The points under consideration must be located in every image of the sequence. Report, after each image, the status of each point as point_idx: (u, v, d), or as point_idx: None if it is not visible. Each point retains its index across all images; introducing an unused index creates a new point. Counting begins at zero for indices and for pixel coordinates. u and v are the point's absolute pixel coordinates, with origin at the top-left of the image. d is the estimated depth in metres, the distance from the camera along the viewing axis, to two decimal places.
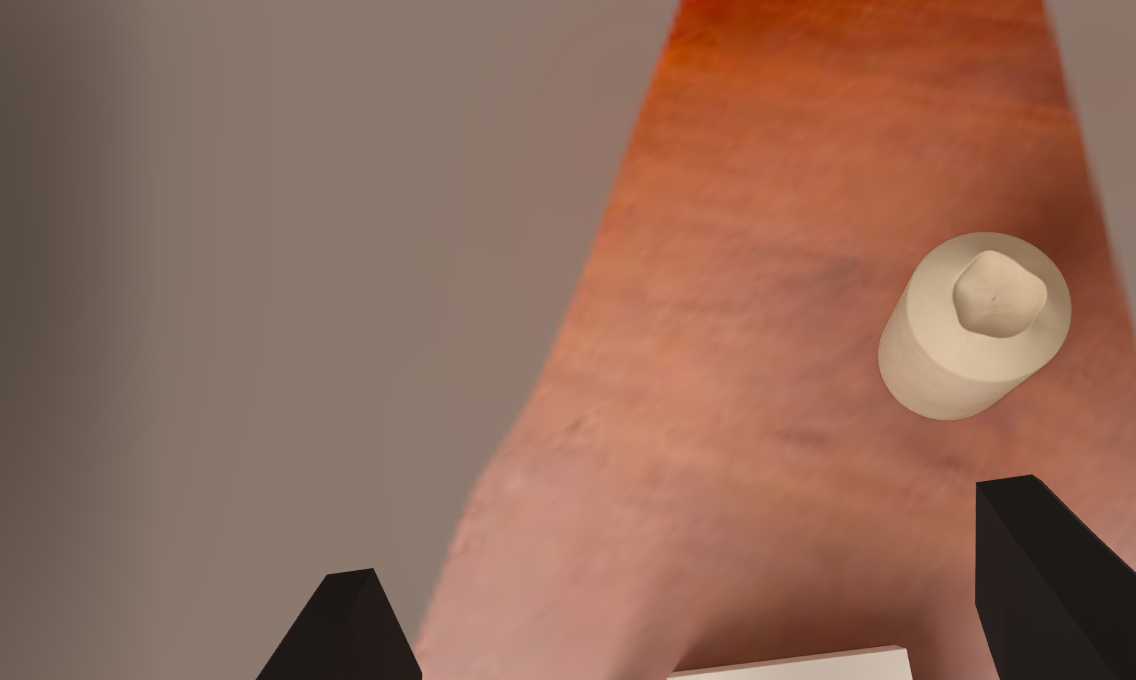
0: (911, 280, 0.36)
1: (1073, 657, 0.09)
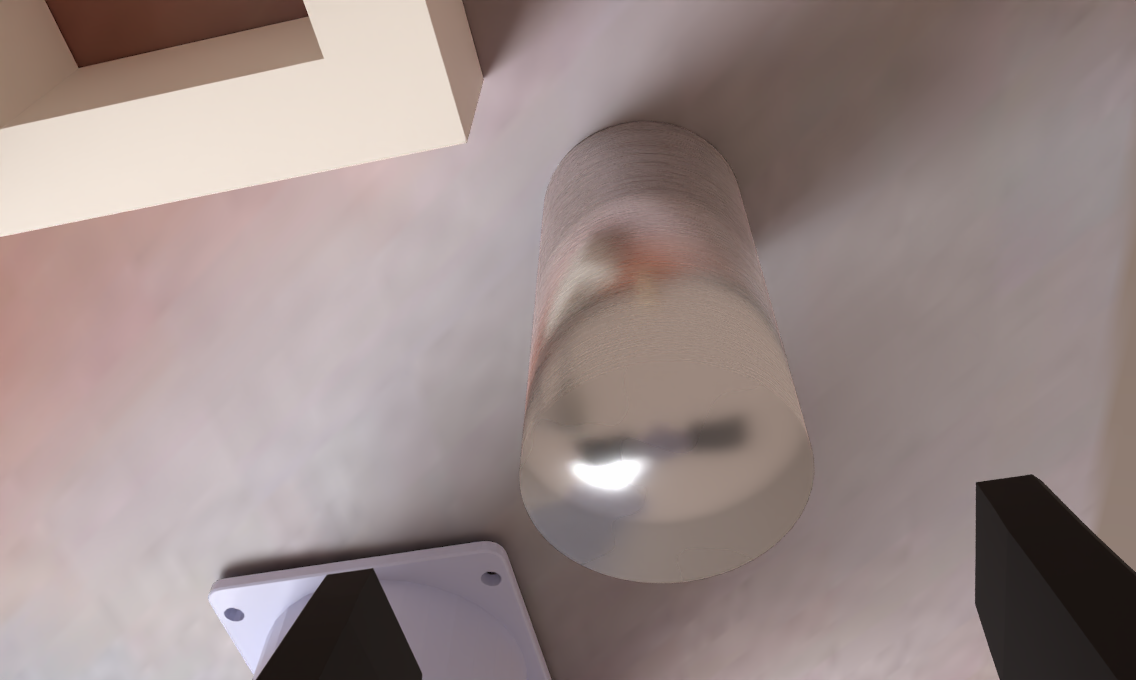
0: None
1: (1074, 657, 0.09)
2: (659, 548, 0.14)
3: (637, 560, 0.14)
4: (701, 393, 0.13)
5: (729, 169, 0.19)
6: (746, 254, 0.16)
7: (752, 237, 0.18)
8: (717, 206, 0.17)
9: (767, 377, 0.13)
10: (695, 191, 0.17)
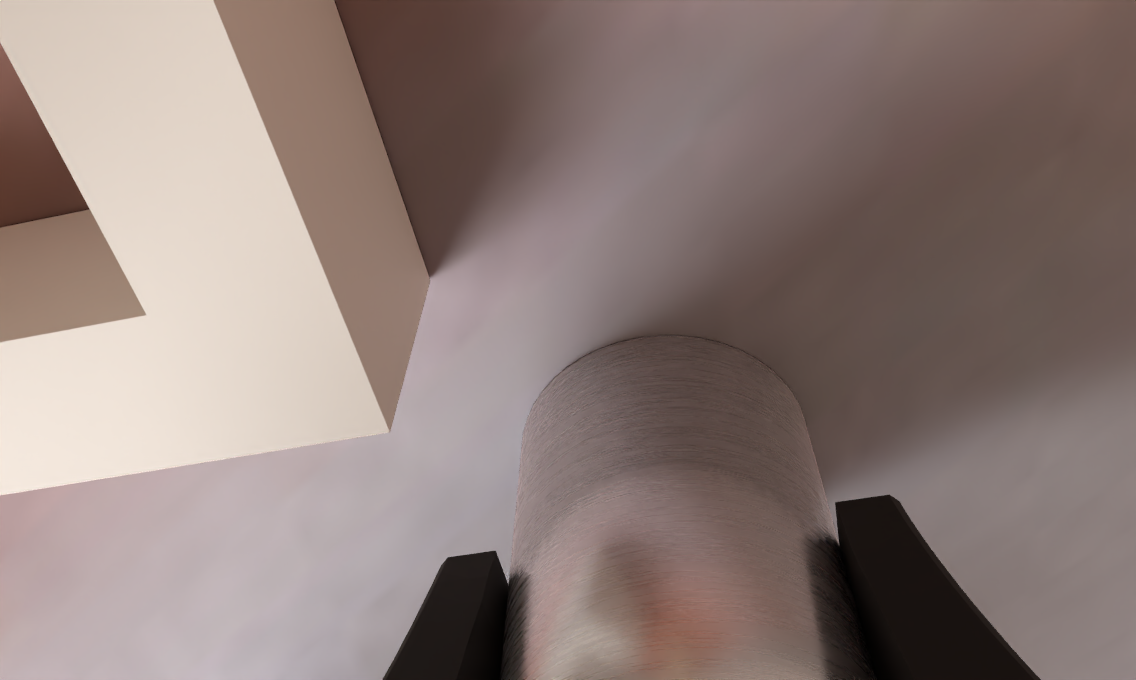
0: None
1: (900, 677, 0.09)
2: None
3: None
4: None
5: (793, 403, 0.13)
6: (841, 618, 0.10)
7: (836, 537, 0.12)
8: (788, 516, 0.11)
9: None
10: (755, 489, 0.11)
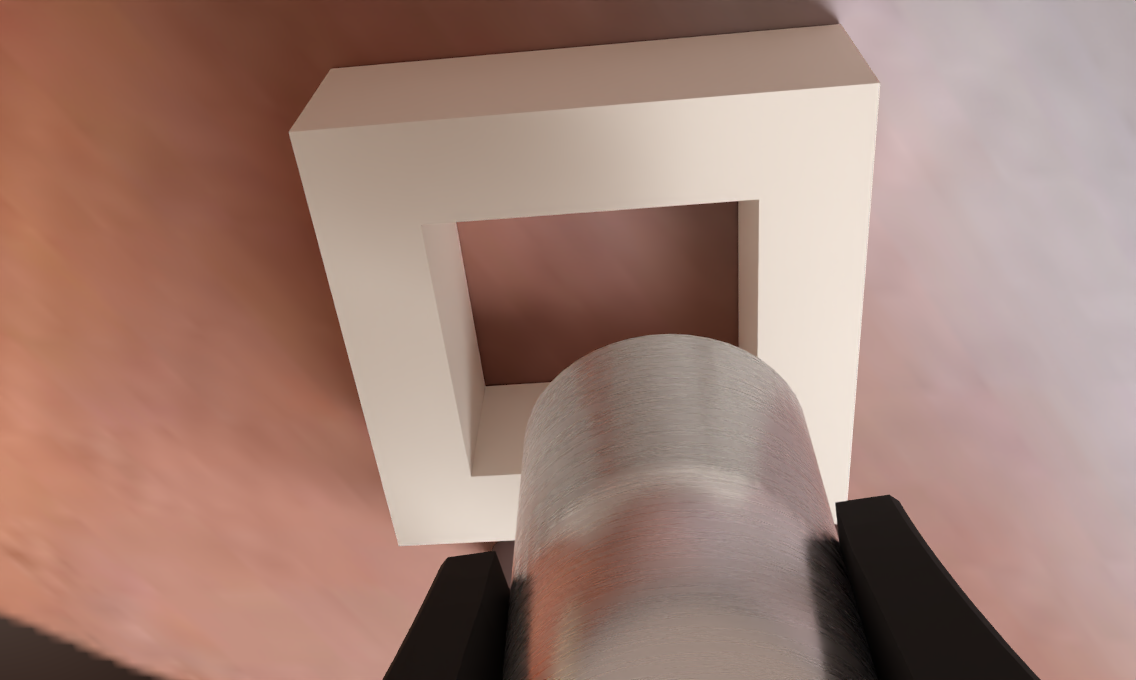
0: None
1: (899, 677, 0.09)
2: None
3: None
4: None
5: (789, 394, 0.13)
6: (834, 606, 0.10)
7: (834, 526, 0.12)
8: (779, 508, 0.11)
9: None
10: (745, 483, 0.11)
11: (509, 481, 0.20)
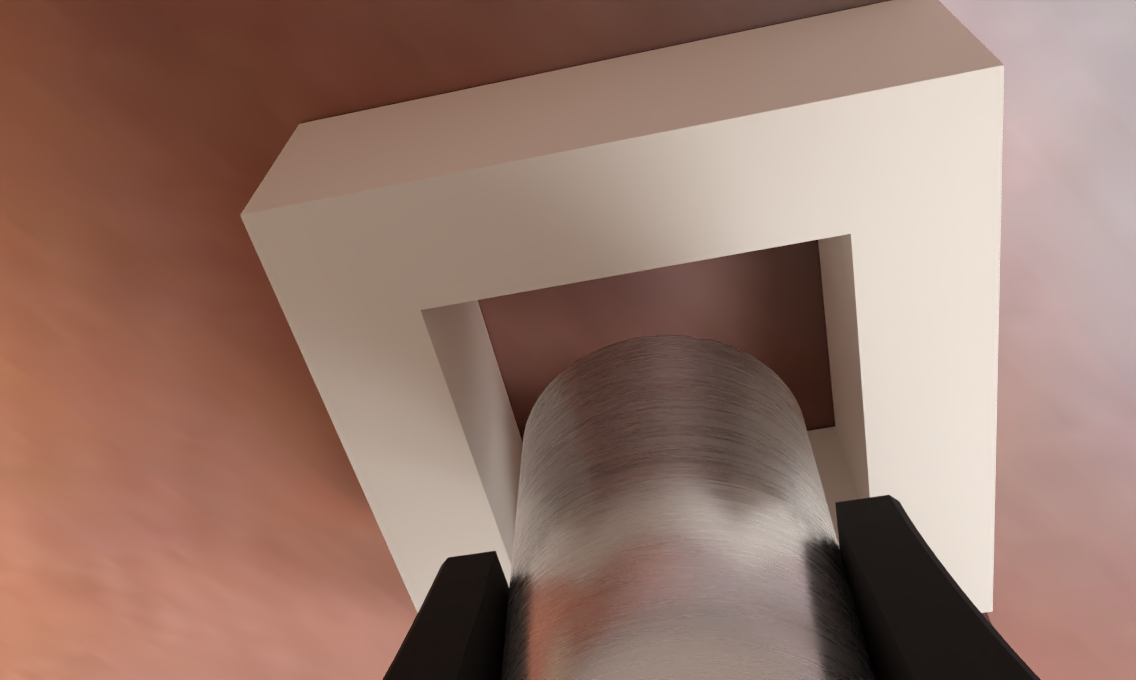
0: None
1: (900, 677, 0.09)
2: None
3: None
4: None
5: (788, 396, 0.13)
6: (832, 608, 0.10)
7: (832, 527, 0.12)
8: (778, 510, 0.11)
9: None
10: (743, 485, 0.11)
11: None
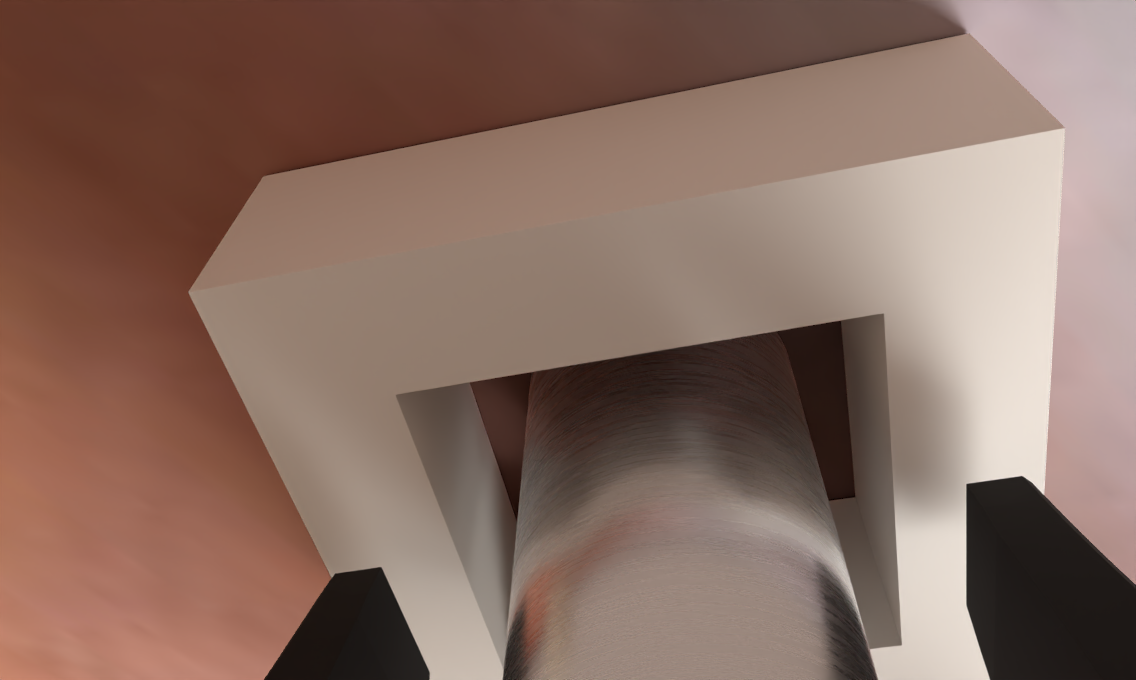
0: None
1: (1061, 658, 0.09)
2: None
3: None
4: None
5: (774, 335, 0.14)
6: (809, 508, 0.11)
7: (813, 448, 0.13)
8: (762, 426, 0.12)
9: None
10: (731, 404, 0.12)
11: None
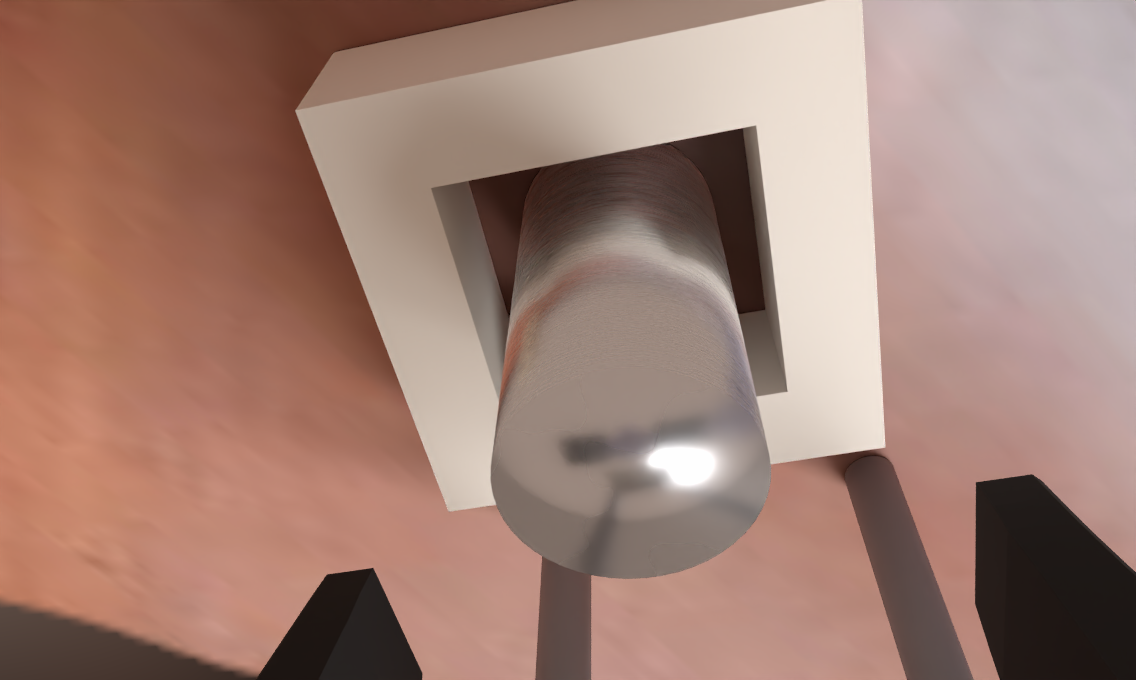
0: None
1: (1073, 657, 0.09)
2: (631, 545, 0.15)
3: (611, 557, 0.15)
4: (655, 397, 0.13)
5: (698, 174, 0.20)
6: (708, 258, 0.17)
7: (719, 240, 0.18)
8: (680, 213, 0.17)
9: (717, 378, 0.14)
10: (659, 199, 0.18)
11: None
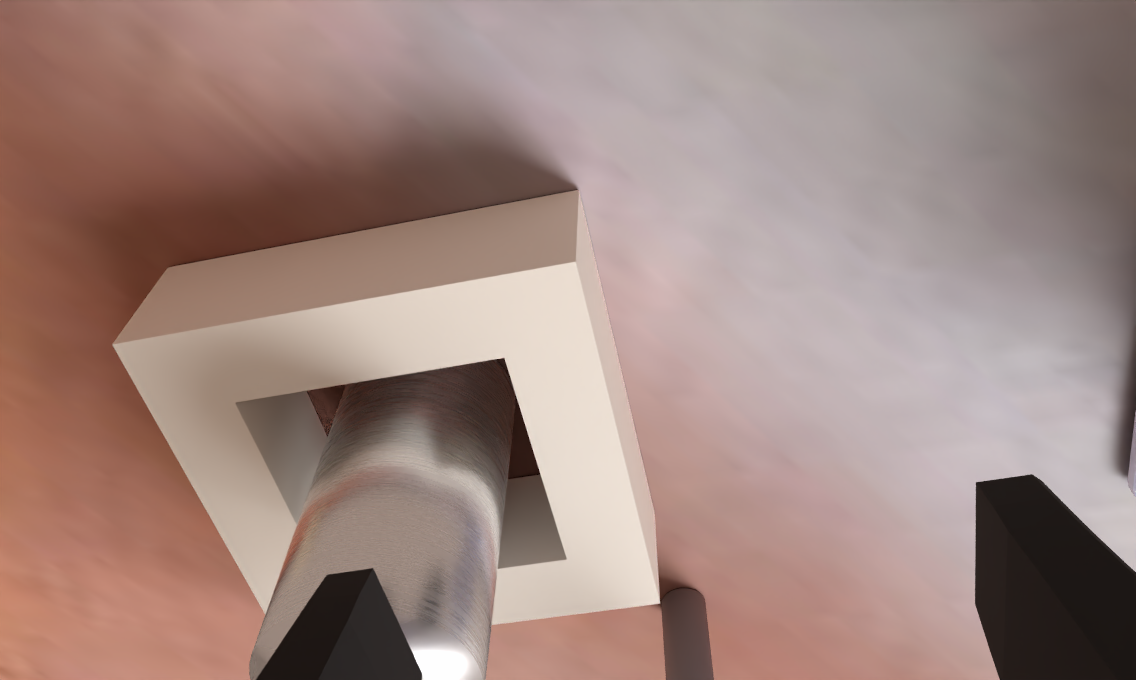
0: None
1: (1073, 657, 0.09)
2: None
3: None
4: None
5: (493, 365, 0.23)
6: (467, 468, 0.20)
7: (497, 436, 0.21)
8: (452, 422, 0.20)
9: (427, 608, 0.16)
10: (435, 409, 0.20)
11: None
